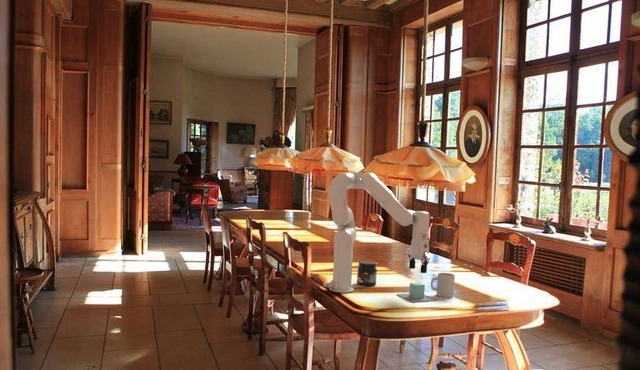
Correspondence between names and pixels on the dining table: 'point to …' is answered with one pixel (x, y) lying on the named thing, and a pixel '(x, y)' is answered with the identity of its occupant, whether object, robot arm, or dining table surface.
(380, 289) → the dining table surface
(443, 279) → the mug
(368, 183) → the robot arm
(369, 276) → the supplement container
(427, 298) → the grey plate with knob
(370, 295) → the dining table surface
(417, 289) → the teal rectangular block
